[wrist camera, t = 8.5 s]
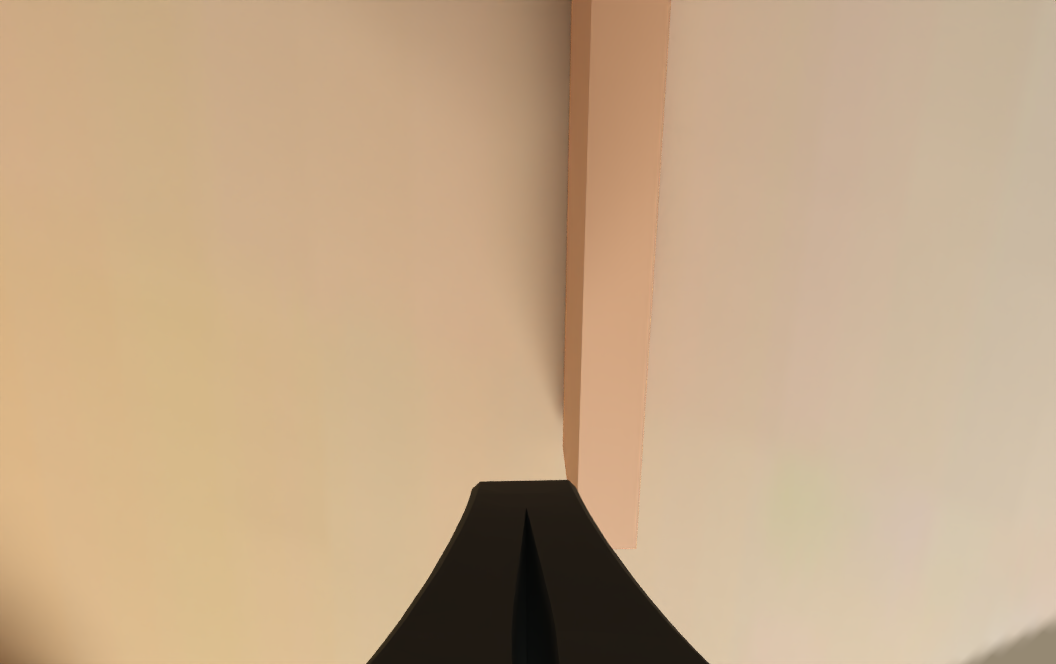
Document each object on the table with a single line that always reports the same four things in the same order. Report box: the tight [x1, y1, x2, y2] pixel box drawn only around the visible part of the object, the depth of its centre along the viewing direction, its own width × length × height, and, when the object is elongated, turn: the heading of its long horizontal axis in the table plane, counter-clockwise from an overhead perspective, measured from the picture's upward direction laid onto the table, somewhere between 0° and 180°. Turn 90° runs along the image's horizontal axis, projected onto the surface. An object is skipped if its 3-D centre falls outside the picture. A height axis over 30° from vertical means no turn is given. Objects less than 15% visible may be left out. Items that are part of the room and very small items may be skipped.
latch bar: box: [563, 0, 671, 549], centre depth 14 cm, size 16×2×4 cm, turn 0°
